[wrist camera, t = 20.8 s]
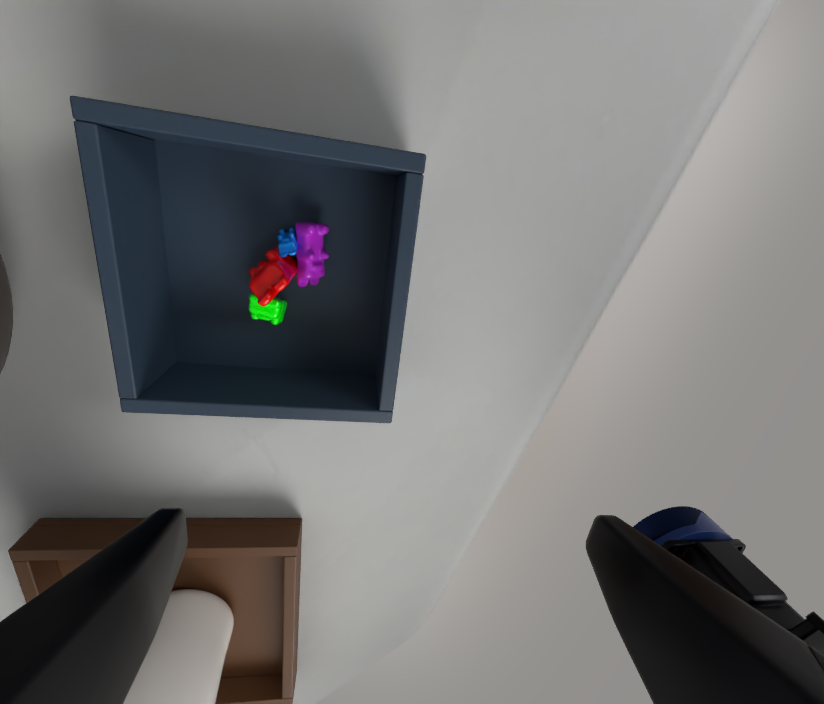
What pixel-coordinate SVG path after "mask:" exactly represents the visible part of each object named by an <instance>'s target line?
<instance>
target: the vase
mask: <svg viewBox="0 0 824 704" xmlns="http://www.w3.org/2000/svg"><path fill="white" fill-rule="evenodd" d="M12 326H13V306H12V296H11V290H10V285H9V280H8V276H7V273H6V269H5V266H4V263H3V260H2V257H1V255H0V373H1V371H2V369H3V367H4V364H5V361H6V358H7V355H8V351H9V346H10V342H11V336H12Z"/></svg>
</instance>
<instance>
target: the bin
mask: <svg viewBox="0 0 824 704" xmlns="http://www.w3.org/2000/svg"><path fill="white" fill-rule="evenodd" d="M70 102H71V108H72V114H73V118H74V119H75V120H76V121H74V126H75V132H76V138H77V144H78V150H79V156H80V162H81V168H82V174H83V180H84V187H85V193H86V199H87V205H88V211H89V217H90V223H91V229H92V235H93V241H94V247H95V253H96V259H97V265H98V271H99V277H100V283H101V289H102V295H103V301H104V307H105V313H106V319H107V325H108V331H109V337H110V343H111V349H112V355H113V361H114V367H115V373H116V379H117V385H118V391H119V397H120V403H121V409H122V412H133V413H157V414H181V415H205V416H229V417H253V418H277V419H301V420H325V421H349V422H373V423H391V422H392V414H393V411H392V410H393V406H394V399H395V391H396V383H397V376H398V368H399V360H400V353H401V345H402V338H403V330H404V322H405V315H406V307H407V299H408V292H409V284H410V276H411V269H412V261H413V253H414V246H415V238H416V230H417V223H418V215H419V208H420V200H421V192H422V185H423V175H422V174H423V173H424V169H425V162H426V155H425V154H422V153H416V152H410V151H404V150H398V149H392V148H386V147H380V146H374V145H368V144H361V143H355V142H349V141H343V140H337V139H331V138H325V137H319V136H313V135H307V134H301V133H295V132H289V131H283V130H277V129H271V128H265V127H259V126H253V125H247V124H241V123H235V122H229V121H223V120H217V119H211V118H205V117H199V116H193V115H187V114H180V113H174V112H168V111H162V110H156V109H150V108H144V107H138V106H132V105H126V104H120V103H114V102H108V101H102V100H96V99H90V98H84V97H78V96H70ZM298 222H316V223H322V224H326V225H327V226H328V227H329V232H328V233H327V234H324V248H325V251H327V252H328V253H329V258H328V259H324V267H325V274H324V276H323V277H321V278H319V282H318V284H317V285H310V284H309V282H308V284H307V286H305V287H300V286H298V284H297V273H296V275H295V276H294V277H293V279H292V280H291V281H290V283H289V284H288V285H287V286H286V287H285V288H284V289H283V290H282V291H280V292H279V293H278V294H277V295H276V296H275V297H276V298H279V299H283V300H285V301H287V308H286V311H285V314H284V318H283V321H282V322H281V323H279V324H278V325H273V324H271V321H266V320H262V319H258V320H254V319H252V318H251V312H250V311H249V302H250V299H249V295H250V294H252V293H253V292H252V291H251V289H250V286H249V284H250V280H251V277H250V276H249V273H248V272H249V269H250V268H252V267H256V268H257V265H258V263H259V262H260V261H263V260H264V261H267V262H268V260H267V259H266V253H267V252H268V251H269V250H273V248H274V247H276V246H278V244H279V241H278V238H277V236H278V235H280V234H279V230H280V229H284V230H285V232H289V228H290V227H294V228H295V225H296V223H298ZM295 231H296V230H295ZM292 257H293V258H294V259H295V260H296V261H297V257H296V254H295V255H292ZM253 294H254V293H253Z"/></svg>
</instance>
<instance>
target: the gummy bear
mask: <svg viewBox="0 0 824 704" xmlns="http://www.w3.org/2000/svg"><path fill="white" fill-rule="evenodd" d="M295 230H296V231H295ZM328 232H329V227H328V226H327V225H326V224H322V223H316V222H298V223H296V225H295V228H294V227H290V228H289V232H285V230H284V229H280V230H279V234H280V235H278V236H277V238H278V241H279V244H278V246H276V247H274V248H273V250H269V251H268V252H267V253H266V259H267V260H268V262H267V261H264V260H263V261H260V262H259V263H258V265H257V268H256V267H252V268H250V269H249V272H248V273H249V276H250V277H251V280H250V284H249V286H250V289H251V291H252V292H253V293H254V294H253V293H252V294H250V295H249V299H250V302H249V311H250V312H251V318H252V319H254V320H258V319H262V320H266V321H271V324H273V325H278V324H279V323H281V322H282V321H283V318H284V314H285V311H286V308H287V301H285V300H283V299H279V298H276V297H275V296H276V295H277V294H278V293H279V292H280V291H282V290H283V289H284V288H285V287H286V286H287V285H288V284H289V283H290V281H291V280H292V279H293V277H294V276H295V275H296V273H297V284H298V286H300V287H305V286H307V284H308V282H309V284H310V285H317V284H318V282H319V278H321V277H323V276H324V274H325V267H324V259H328V258H329V253H328V252H327V251H325V248H324V234H327V233H328ZM295 254H296V257H297V261H296V260H295V259H294V258H293V257H292V255H295Z"/></svg>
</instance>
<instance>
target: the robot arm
mask: <svg viewBox="0 0 824 704" xmlns="http://www.w3.org/2000/svg"><path fill="white" fill-rule="evenodd" d="M187 544H188V536H187V526H186V516H185V512H184V510H183V509H180V508H163V509H160V510H158V511H156V512H155V513H153V514H152V515H150V516H149V517H147V518H146V519H145V520H143V521H142V522H140V523H139V524H138V525H136V526H135V527H133V528H132V529H131V530H129V531H128V532H126V533H125V534H124V535H122V536H121V537H119V538H118V539H116V540H115V541H114V542H112V543H111V544H109V545H108V546H107V547H105V548H104V549H102V550H101V551H100V552H98V553H97V554H95V555H94V556H93V557H91V558H90V559H88V560H87V561H85V562H84V563H83V564H81V565H80V566H78V567H77V568H76V569H74V570H73V571H71V572H70V573H69V574H67V575H66V576H64V577H63V578H61V579H60V580H59V581H57V582H56V583H54V584H53V585H52V586H50V587H49V588H47V589H46V590H45V591H43V592H42V593H40V594H39V595H38V596H36V597H35V598H33V599H32V600H30V601H29V602H28V603H26V604H25V605H23V606H22V607H21V608H19V609H18V610H16V611H15V612H14V613H12V614H11V615H9V616H8V617H7V618H5V619H4V620H2V621H1V622H0V704H123V703H124V701H125V698H126V696H127V694H128V692H129V690H130V688H131V686H132V684H133V682H134V680H135V678H136V675H137V673H138V671H139V669H140V667H141V665H142V663H143V661H144V659H145V657H146V654H147V652H148V650H149V648H150V646H151V643H152V641H153V639H154V637H155V634H156V632H157V629H158V626H159V624H160V621H161V618H162V616H163V613H164V610H165V607H166V605H167V602H168V599H169V597H170V594H171V591H172V588H173V586H174V583H175V580H176V577H177V575H178V572H179V569H180V566H181V564H182V561H183V558H184V555H185V552H186V549H187ZM586 550H587V554H588V556H589V559H590V561H591V564H592V567H593V569H594V572H595V574H596V577H597V580H598V582H599V585H600V587H601V590H602V592H603V595H604V598H605V600H606V603H607V605H608V608H609V611H610V613H611V615H612V617H613V620H614V623H615V625H616V627H617V629H618V631H619V633H620V636H621V638H622V639H623V642H624V643H625V646H626V648H627V650H628V652H629V654H630V656H631V658H632V660H633V662H634V664H635V666H636V668H637V670H638V673H639V674H640V677H641V679H642V680H643V683H644V685H645V687H646V689H647V691H648V693H649V695H650V697H651V699H652V701H653V703H654V704H824V620H823V619H822V618H820V617H819V616H818V615H817V614H816V613H815V612H811V613H810V614H808V615H807V616H806V618H807V619H804V618H803V617H802V616H800V615H799V614H798V613H797V612H796V611H795V610H794V609H793V608H792V607H791V606H790V605H789V604H788V603H787V602H786V600H787V596H786V595H785V593H784V592H783V591H782V590H781V589H780V588H779V587H778V586H777V585H775V584H774V583H773V582H772V581H771V580H770V579H769V578H768V577H767V576H766V575H765V574H763V572H761V571H760V570H759V569H758V568H757V567H756V566H755V565H754V564H753V563H752V562H751V561H750V560H749V559H747V558H746V557H745V556H744V555H743V554H742V553H743V551H744V550H745V544H743V543H742V542H741V541H740V540H739V539H711V540H668V541H666V542H665V543H664V544H663V545H662V547H661V546H660V545H658V544H657V543H655V542H654V541H652V540H651V539H649V538H648V537H646V536H645V535H643V534H642V533H640V532H639V531H637V530H636V529H634V528H633V527H631V526H630V525H628V524H627V523H625V522H624V521H622V520H621V519H619V518H618V517H616V516H612V515H599V516H597V517H596V518H595V519H594V521H593V524H592V527H591V529H590V532H589V534H588V537H587V540H586Z"/></svg>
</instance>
